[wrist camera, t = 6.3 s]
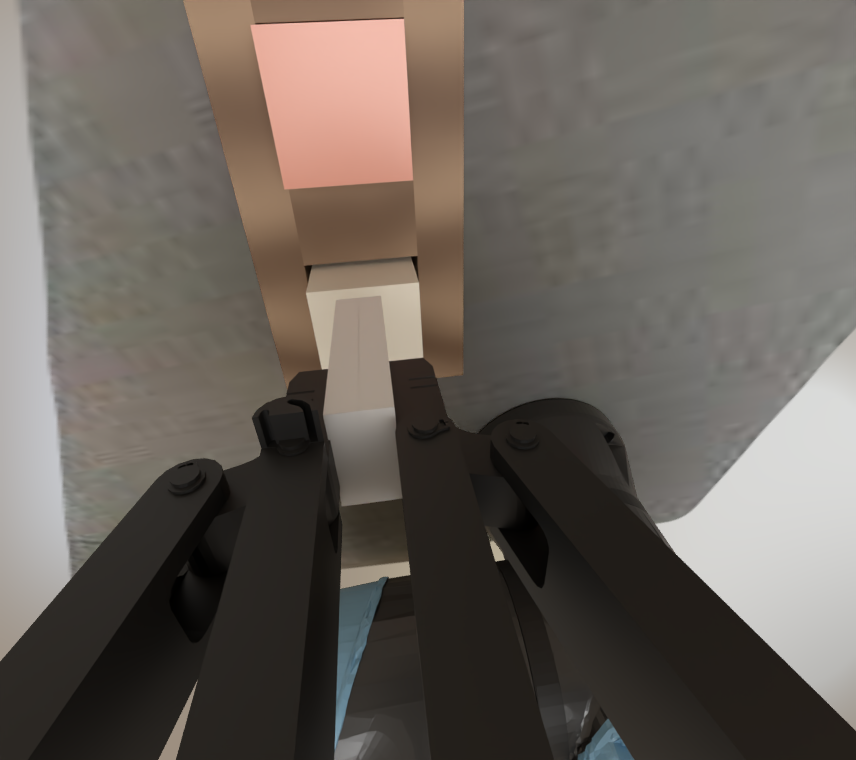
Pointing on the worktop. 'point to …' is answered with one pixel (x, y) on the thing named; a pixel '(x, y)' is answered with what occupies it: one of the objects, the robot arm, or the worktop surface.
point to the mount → (347, 204)
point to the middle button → (337, 101)
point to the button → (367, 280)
